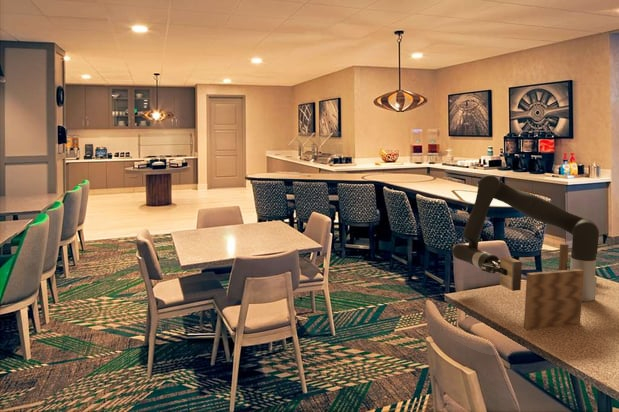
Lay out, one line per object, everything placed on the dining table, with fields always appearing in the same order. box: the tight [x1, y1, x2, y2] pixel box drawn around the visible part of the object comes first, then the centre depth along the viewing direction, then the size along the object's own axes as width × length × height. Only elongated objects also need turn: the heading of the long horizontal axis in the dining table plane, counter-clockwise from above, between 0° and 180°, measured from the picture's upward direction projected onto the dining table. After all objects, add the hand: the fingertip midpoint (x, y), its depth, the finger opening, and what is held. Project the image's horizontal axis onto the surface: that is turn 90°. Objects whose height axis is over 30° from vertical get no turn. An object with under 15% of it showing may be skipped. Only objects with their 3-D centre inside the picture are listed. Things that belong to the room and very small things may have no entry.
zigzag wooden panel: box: [523, 269, 584, 330], centre depth 181 cm, size 22×7×20 cm, turn 103°
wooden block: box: [557, 242, 570, 271], centre depth 229 cm, size 4×11×18 cm, turn 58°
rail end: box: [499, 256, 523, 292], centre depth 190 cm, size 3×8×11 cm, turn 13°
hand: (511, 272), depth 189 cm, fingers closed on rail end, 3 cm apart
